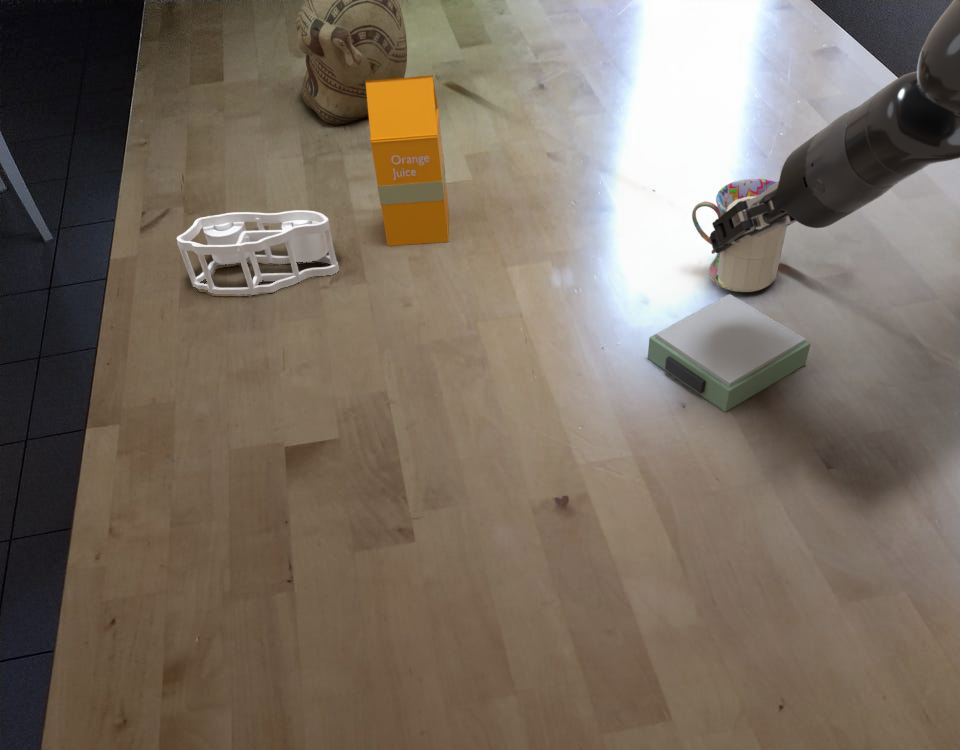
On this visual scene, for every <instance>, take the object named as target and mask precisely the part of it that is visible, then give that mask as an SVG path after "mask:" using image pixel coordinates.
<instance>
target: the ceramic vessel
mask: <svg viewBox="0 0 960 750" xmlns="http://www.w3.org/2000/svg"><path fill="white" fill-rule="evenodd" d="M295 28H296V32H297V44H298V45H297V46H298V47H299V50H300V51H301V52H302V53H303V54H305V67H306V71H305V73H304V78H303V81H302V86H301V95H302V99H303V101H304V103H305V104H306V106H308V107H309V108H310V109H311V110H312V111H314V112H315V113H316V114H317V115H318V117H319V118H320V119H321V120H322V121H323V122H325V123H327V124H329V125H334V124H335V125H334V126H338V125H337V124H342V125H346V124H350V123H353V122H357V121H359V119H360V120H362V119H364V118H369V114H368V103H367V93H366V82H365V81H372V80H384V79H396V78H405V76H406V72H407V65H408V40H407V32H406V25H405V19H404V14H403V11H402V7H401V5H400V1H399V0H302V4H301V8H300V10H299V12H298V15H297V17H296V21H295ZM356 120H357V121H356Z"/></svg>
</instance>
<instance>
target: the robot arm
mask: <svg viewBox="0 0 960 750" xmlns="http://www.w3.org/2000/svg"><path fill="white" fill-rule="evenodd" d="M958 159H960V0H952V1H951V3H950V4H949V5H948V7H947V8H946V9H945V10H944V12H943V13H942V14H941V15H940V17H939V19H937V21H936V22H935V24H934V25H933V27H932V28H931V30H930V31H929V33H928V35H927V36H926V38H925V41H924V43H923V45H922V47H921V49H920V51H919V56H918V61H917V65H916V71H912V72H909V73H906V74H903V75H901V76H899V77H898V78H896V79H895V80H893V81H892V82H890V83H889V84H888V85H886V86H885V87H883V88H882V89H880V90H879V91H877V92H876V93H875V94H873V95H872V96H871V97H869V98H868V99H866V100H865V101H864V102H862V103H861V104H860V105H858V106H856V107H855V108H852V109H850V110H848V111H846V112H845V113H843V114H841V115H840V116H838V117H837V118H835V120H833V121H832V122H830V123H829V124H828V125H826V126H825V127H824V128H823V129H821V130H819V131H818V132H817V133H815V135H813V136H812V137H810V138H809V139H808V140H805V142H803V143H802V144H801V145H799V146H798V147H796V149H794V150H793V151H792V152H791V153H790V154H789V155H788V156H787V158H786V160H785V161H784V163H783V165H782V167H781V171H780V175H779V180H778V181H775V182H776V183H774V184H773V185H771V186H769V187H768V188H767V190H766V191H765V192H764V193H762V194H760V195H758V196H756V197H754V198H753V199H751V200H749V201H747V202H746V201H743V202H742V201H740V202H738V203H737V204H736V205H735V206H733V207H732V208H731V209H730V210H728V211H727V212H726V213H724V214H723V215H722V216H721V217H719V218H718V217H717V218H716V219H715V221H713V222H711V224H712V227H713V229H714V230H713V231H710V236H709V238H710V241H711V244H712V245H711V244H710V245H711V247H712V250H715V254H717V253H720V252H723V251H725V250H726V249H728V248H729V247H731V246H733V245H734V244H738V243H740V241H741V240H743V239H745V238H747V237H749V236H751V237H752V238H755V237H760V236H762V235H764V234H766V233H768V232H770V231H772V230H774V229H776V228H778V227H785V226H787V227H788V226H791V225H792V224H794V223H796V222H797V223H799V224H800V225H803V226H804V227H807V228H812V229H822V228H827V227H829V226H831V225H833V224H835V223H837V222H838V221H840V220H842V219H844V218H845V217H847V216H849V215H851V214H853V213H855V212H856V211H859V210H860V209H861V208H864V207H865V206H866V205H868V204H870V203H872V202H873V201H875V200H877V199H879V198H880V197H882V196H883V195H884V194H886V193H887V192H889V191H890V190H891V189H892V188H893V187H895V186H896V185H898V184H899V183H900V182H902V181H904V180H905V179H907V178H910V177H911V176H912V175H914V174H916V173H918V172H919V171H921V170H923V169H924V168H926V167H929V165H932V164H936V163H942V162H948V161H954V160H958ZM758 204H759V205H758ZM760 216H762V217H763V220H764V222H765V223H766V224H769V225H767V226H765V227H762V226H761V224H760V221H759V217H760Z"/></svg>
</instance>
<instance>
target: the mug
mask: <svg viewBox="0 0 960 750" xmlns="http://www.w3.org/2000/svg"><path fill="white" fill-rule="evenodd" d="M776 182H777V181H774V180H771V179H766V178H765V179H764V178H746V179H745V178H744V179H739V180H735V181H733V182H730V183H728V184H726V185H723V187H721V189H720V190H719V191H718V192H717V194H716V198H715V202H716V204H714V203H713V202H710V201H702V202H699V203H697V204H696V205H695V206H694V208H693V210H692V213H691V219H692V222H693V225H694V227H695V229H696V231H697V233H698V234H699V235H700V237H702V239H703V240H704V241H706V242H707V243H708V244H710V245H711V246H712V244H711V241H710V238H709V237H710V236H709V235H707V234H706V232H704V229H702V227H701V225H700V224H699V220H698V219H697V210H698V209H700V208H702V207H707V208H710V209H712V210H713V211H714V212H715V213H716V216H717V219H718V218H719V217H721V216H722V215H723V214H724V213H726V212H727V208H728V206H729V205H730V204H731V203H732V202H734V201H735V200H737V199H741V198H744V197H748V196H758V195H760V194H762V193H764V192H765V191H766V190H767V188H768V187H769V186H771V185H773V184H774V183H776ZM711 254H712V255H714V254H716V255H715V257H714V259H713V260H712V262H711V264H710V266H709V268H708V273H709V277H710V279H711V280H712V281H713V282H714V283H715V284H716V285H717V286H719V287H721V288H723V289H724V290H728V291H731V292H737V293H743V292H742V291H736V290H733V289H731V288H729V287H727V286H726V285H725V284H724V283H723V282H722V281H721V280H720V278H719V277H718V275H717V270H718V264H719V257H720V253H716V252H715V250H713V249H712V250H711ZM769 286H770V285H768V286H766V287H765V288H767V287H769Z"/></svg>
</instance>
